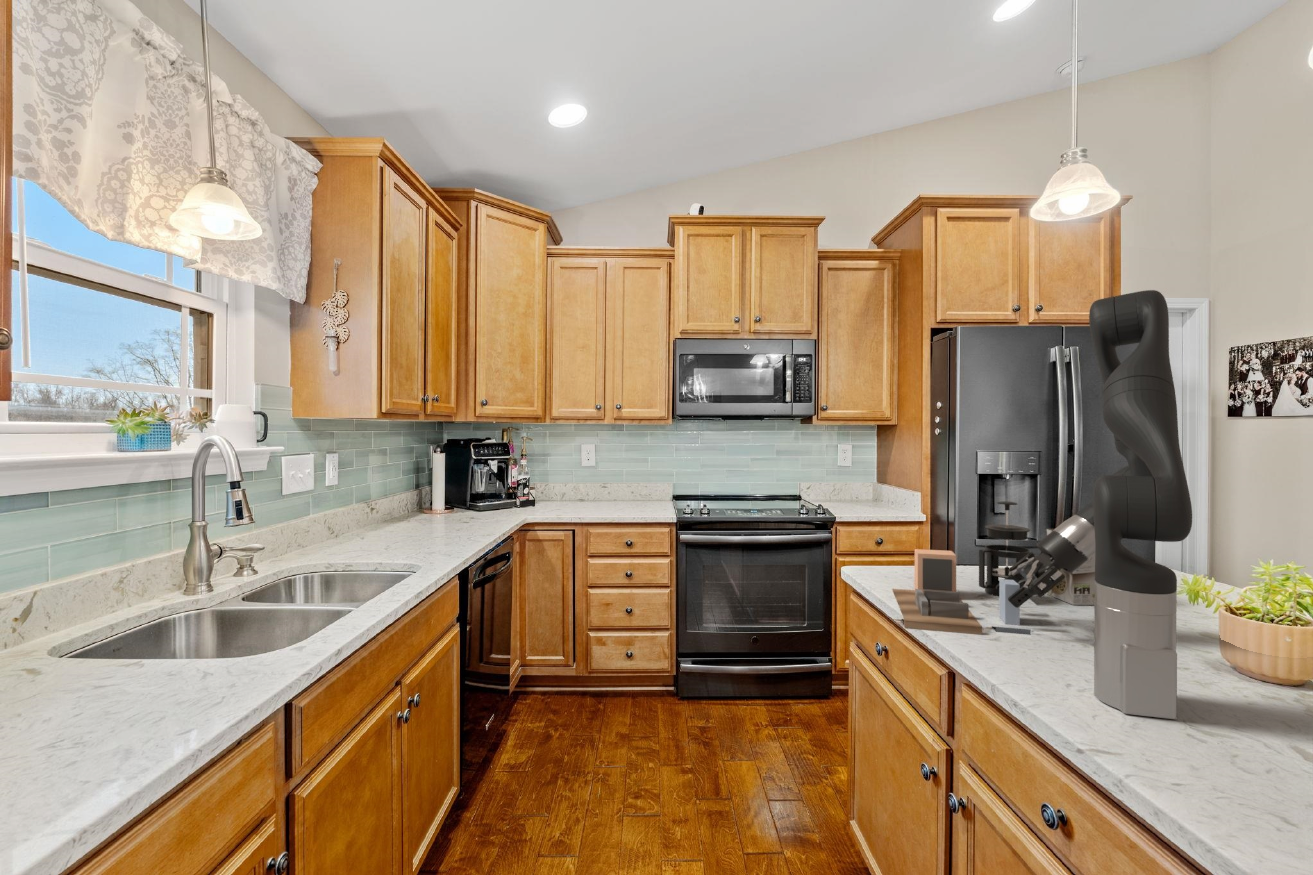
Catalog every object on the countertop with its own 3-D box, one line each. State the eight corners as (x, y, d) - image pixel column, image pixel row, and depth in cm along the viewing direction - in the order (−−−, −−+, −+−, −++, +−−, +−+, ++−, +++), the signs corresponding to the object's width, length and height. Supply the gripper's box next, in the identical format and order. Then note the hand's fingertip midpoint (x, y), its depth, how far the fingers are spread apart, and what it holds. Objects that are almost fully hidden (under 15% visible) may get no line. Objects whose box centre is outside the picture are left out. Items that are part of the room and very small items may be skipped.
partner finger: (956, 600, 129) (956, 555, 129) (918, 597, 132) (918, 553, 132) (951, 593, 135) (951, 550, 135) (914, 590, 137) (914, 549, 137)
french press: (1014, 593, 140) (1015, 498, 140) (1043, 604, 131) (1043, 503, 130) (968, 594, 139) (968, 499, 139) (994, 606, 130) (994, 504, 129)
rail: (982, 634, 112) (982, 611, 112) (904, 627, 116) (904, 605, 116) (955, 599, 135) (955, 580, 135) (891, 594, 139) (891, 576, 139)
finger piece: (1030, 634, 112) (1030, 586, 112) (995, 631, 114) (996, 584, 113) (1022, 626, 117) (1022, 579, 117) (989, 623, 118) (989, 577, 118)
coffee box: (1100, 605, 130) (1101, 534, 130) (1072, 605, 130) (1072, 534, 130) (1072, 593, 139) (1072, 527, 139) (1045, 594, 139) (1045, 527, 139)
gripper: (1043, 523, 120) (981, 574, 123) (1070, 536, 106) (1000, 593, 109) (1072, 550, 118) (1009, 601, 122) (1104, 566, 105) (1032, 623, 108)
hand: (1005, 597), depth 116 cm, fingers open, 8 cm apart
